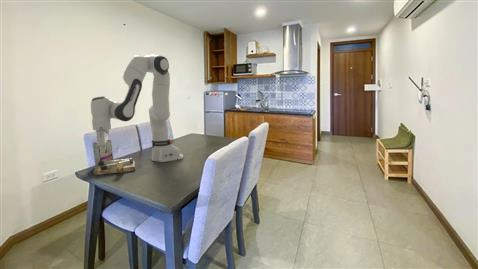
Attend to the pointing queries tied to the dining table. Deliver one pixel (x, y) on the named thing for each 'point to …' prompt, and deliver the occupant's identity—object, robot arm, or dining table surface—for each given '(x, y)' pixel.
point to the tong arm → (113, 165)
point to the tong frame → (113, 161)
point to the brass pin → (120, 168)
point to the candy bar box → (102, 152)
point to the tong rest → (114, 169)
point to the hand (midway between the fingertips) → (104, 150)
